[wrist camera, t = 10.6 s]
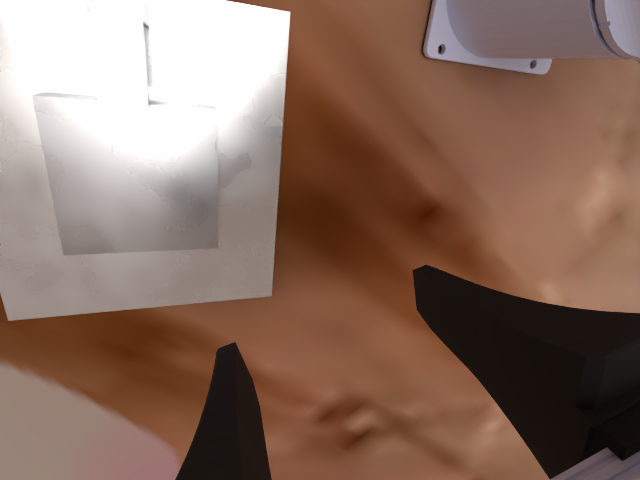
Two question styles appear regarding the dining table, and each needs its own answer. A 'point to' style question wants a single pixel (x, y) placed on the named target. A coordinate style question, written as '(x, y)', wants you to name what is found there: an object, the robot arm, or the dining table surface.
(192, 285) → the post base
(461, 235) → the dining table surface
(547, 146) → the dining table surface
